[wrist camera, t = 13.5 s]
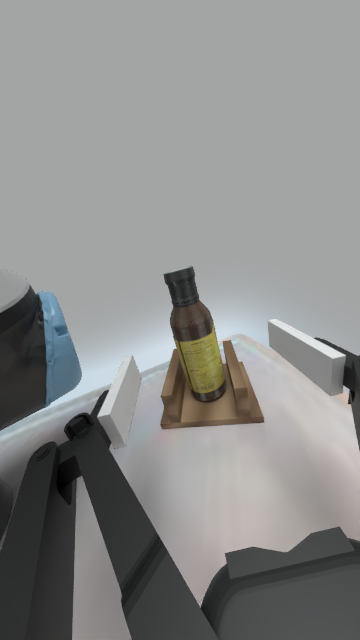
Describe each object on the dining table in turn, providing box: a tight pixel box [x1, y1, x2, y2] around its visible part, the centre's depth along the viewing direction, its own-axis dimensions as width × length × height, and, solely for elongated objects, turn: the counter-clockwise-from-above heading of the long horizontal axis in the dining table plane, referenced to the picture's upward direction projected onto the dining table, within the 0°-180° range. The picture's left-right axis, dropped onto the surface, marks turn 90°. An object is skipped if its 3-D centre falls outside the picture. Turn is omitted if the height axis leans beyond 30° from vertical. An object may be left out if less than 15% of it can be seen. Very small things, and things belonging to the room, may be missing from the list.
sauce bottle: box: [164, 266, 226, 401], centre depth 25 cm, size 6×6×20 cm
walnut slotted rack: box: [161, 340, 264, 429], centre depth 28 cm, size 14×12×6 cm
